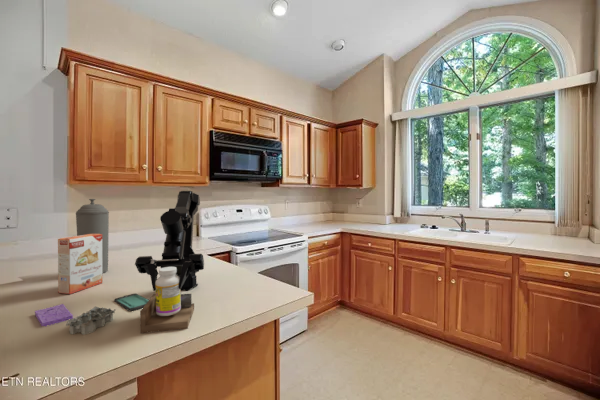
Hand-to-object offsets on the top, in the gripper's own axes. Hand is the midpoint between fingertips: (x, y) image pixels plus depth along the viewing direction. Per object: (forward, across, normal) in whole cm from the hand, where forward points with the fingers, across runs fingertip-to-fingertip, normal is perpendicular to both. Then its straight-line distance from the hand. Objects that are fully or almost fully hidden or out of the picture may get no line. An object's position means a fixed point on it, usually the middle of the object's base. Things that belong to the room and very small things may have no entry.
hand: (167, 289), depth 81 cm
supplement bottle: (+4, 0, -6) cm, 8 cm away
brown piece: (+5, 0, -9) cm, 11 cm away
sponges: (-2, +35, -17) cm, 39 cm away
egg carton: (+5, +21, -11) cm, 24 cm away
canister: (-37, +46, -53) cm, 79 cm away
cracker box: (-21, +40, -37) cm, 58 cm away
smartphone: (-6, +15, -22) cm, 27 cm away
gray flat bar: (+1, -1, -10) cm, 11 cm away
